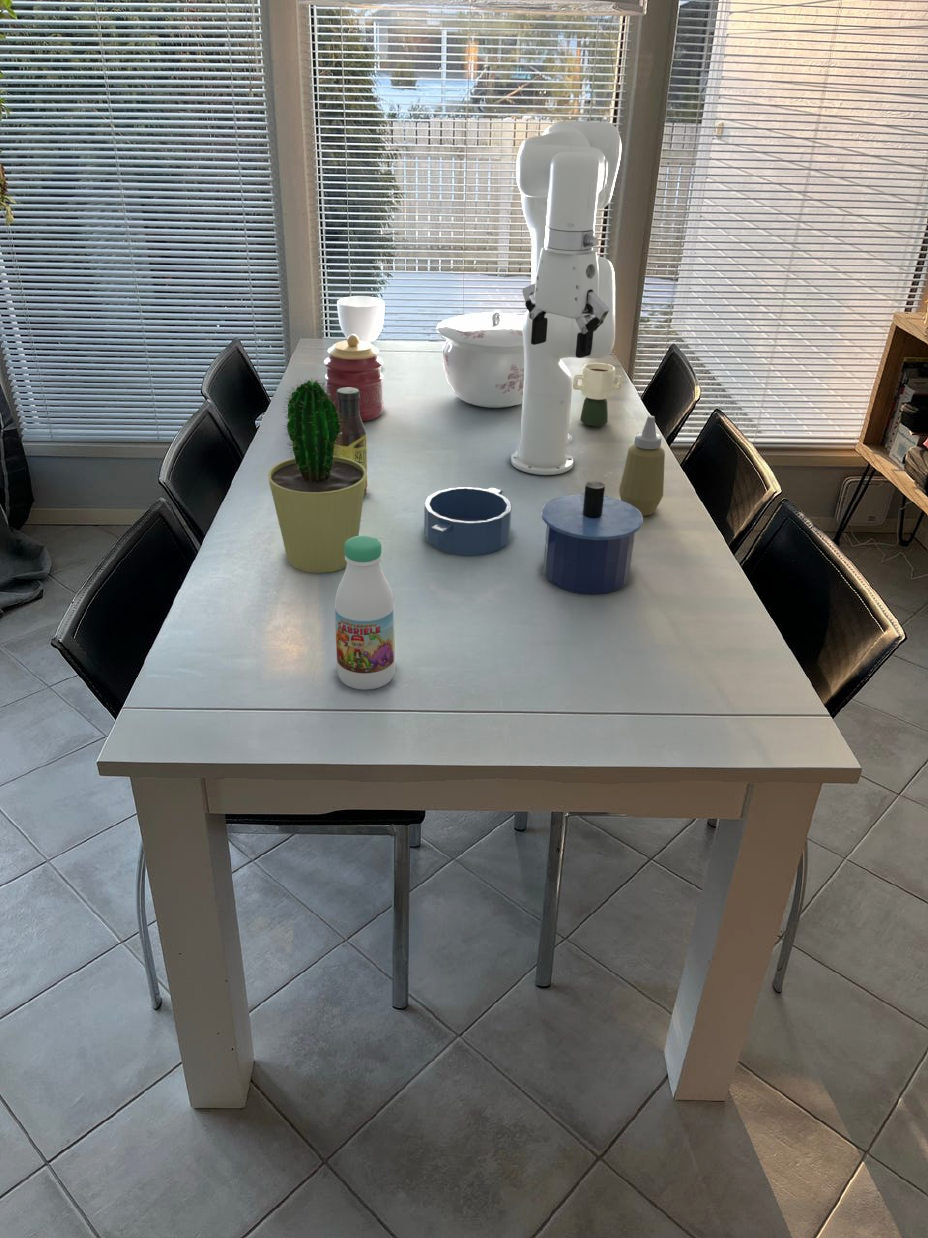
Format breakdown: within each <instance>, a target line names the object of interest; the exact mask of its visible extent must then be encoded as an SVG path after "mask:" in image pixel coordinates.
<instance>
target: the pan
mask: <svg viewBox="0 0 928 1238" xmlns="http://www.w3.org/2000/svg"><path fill="white" fill-rule="evenodd" d="M512 506H513V505H512V503H511V502H510V500H509V499H508V497H507V496H504V495H503V490H502V489H498V488H495V487H491V486H490V487H489V488H487V489H486V488H482V487H471V486H460V487H447V488H445V489H442V490H438V491H435V492H434V493H432V494H431V495H429V496H427V498H426V500H425V502H424V509H423V510H424V513H423V515H424V517H423V518H424V519H423V521H424V522H423V523H424V525H423V527H424V529H423V533H424V537H425V541H426V542H427V543H428V544H429V545H430V546H431V547H433V548H435V549H436V550H439V551H441V552H443V553H448V554H452V555H457V556H481V555H488V554H491V553H494V552H497V551H500V550H502V549H503V548H504V547H506V546H507V544H508V543H509V541H510V535H511V523H512V522H511V521H512Z"/></svg>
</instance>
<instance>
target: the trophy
mask: <svg viewBox="0 0 928 1238" xmlns="http://www.w3.org/2000/svg"><path fill="white" fill-rule="evenodd" d="M579 380H581V385H579ZM615 380H617V384H616V385H615ZM622 385H623V375H622V374H616V367H615V366H613V365H612V364H609V363H604V362H589V363H585V364H584V365H583V366H582V374H576V375H574V377H573V381H572V390H575V391H580V392H581V395H582V396H583V397H585V398H584V400H583V403H582V408H581V412H580V418H579V421H580V423H583V424H585V425H587V426H592V427H603V426H605V425H606V424H608V421H609V420H608V419H609V413H608V412H609V410H608V400H607V399H610V398H611V397H612V396H613V393H614V390H615V391H617V390H618V391H619V390H621V389H622Z"/></svg>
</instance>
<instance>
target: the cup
mask: <svg viewBox="0 0 928 1238" xmlns="http://www.w3.org/2000/svg"><path fill="white" fill-rule="evenodd" d="M336 307H337V308H336V309H337V317H338V322H339V326H340V330H341V332H342V334H343V335H344V337H345V338H346V339H347V338H348V336H350V335H356V336H357V337H358V338H359V341H365V342H368V343H370V344H371V343H372V342H374V341H376V340H377V339H378V337H379V336H380V334H381V332H382V329H383V326H384V320H385V301H384V300H383V299H382V298H379V297H376V296H371V295H370V296H369V295H351V296H345V297H341V298H339V299H338V300H337V301H336Z"/></svg>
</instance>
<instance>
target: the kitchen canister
mask: <svg viewBox="0 0 928 1238" xmlns="http://www.w3.org/2000/svg"><path fill="white" fill-rule="evenodd" d="M326 353H327V354H328V356H327V357H326V358H325V359H324V361H323V363H324V366H325V367H326V373H325V375H324V379H325V387H327V388H328V389H327V388H326V389H327V390H326V389H325V390H326V391H325V392H326V393H327V392H328V393H327V394H326V395H328V396H329V393H330V395H331V394H332V393H333V394H332V395H331V396H330V397H329V398H331V397H332V398H331V399H330V400H331V401H332V403H334V406H335V404H336V406H335V407H336V408H337V413H338V399H337V390H338V389H340V388H346V387H352V388H356V389H358V390H359V394H360V398H359V411H360V413H359V414H360V417H361V420H362V422H366V421H371V420H375V419H377V418H379V417H381V416H382V414H383V411H384V404H385V403H384V398H383V397H384V395H383V394H384V393H383V389H384V387H383V379H384V374H383V373H382V368H381V367H383V364H384V361H383V359H382V358H381V357H380V356H378V355H379V353H380V350H379V348H377V347H376V346H374V345H373V344H372V343H371V342H370V343H368V342H365V341H359V338H358V337H357V336H356V335H350V336H348V338H346V340H342V341H341V340H340V341H337V342H336V343H334V344H333V345H332V346H330V347H328V349H327V352H326ZM334 401H335V402H334ZM338 415H339V414H338Z"/></svg>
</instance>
